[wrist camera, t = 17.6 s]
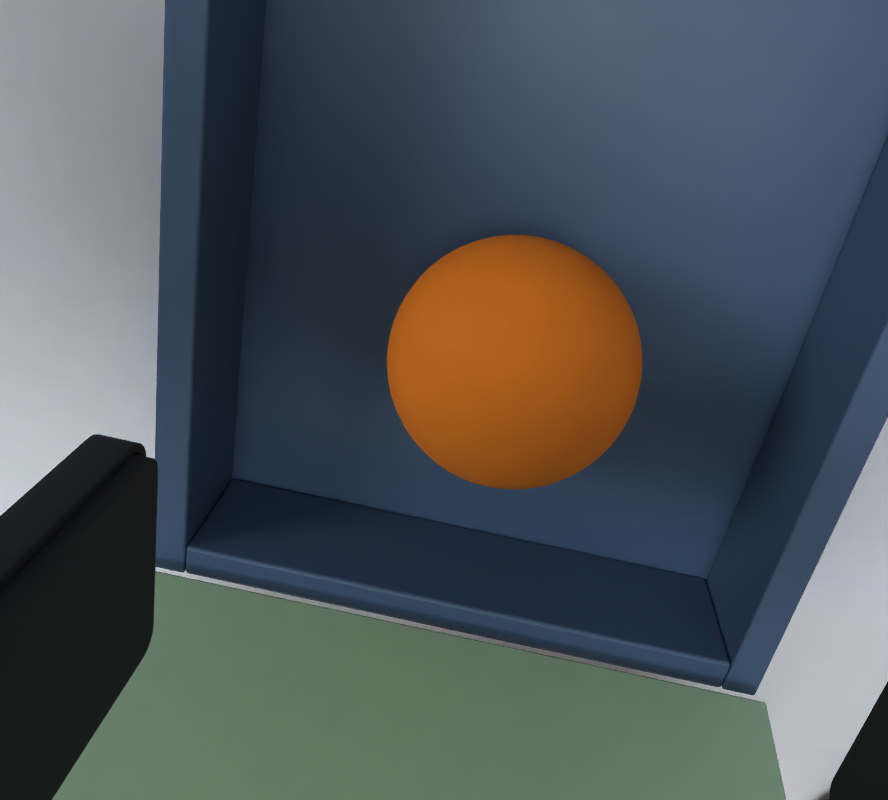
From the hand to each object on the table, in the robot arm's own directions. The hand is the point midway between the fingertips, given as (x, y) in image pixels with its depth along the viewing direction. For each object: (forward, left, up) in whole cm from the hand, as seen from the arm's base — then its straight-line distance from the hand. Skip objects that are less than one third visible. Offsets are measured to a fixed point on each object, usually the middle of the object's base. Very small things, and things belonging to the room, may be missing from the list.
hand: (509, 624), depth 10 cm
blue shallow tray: (-2, 0, -11) cm, 11 cm away
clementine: (0, 0, -8) cm, 8 cm away
